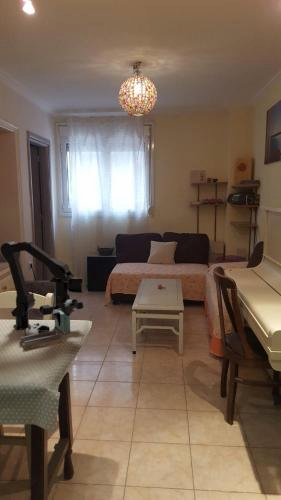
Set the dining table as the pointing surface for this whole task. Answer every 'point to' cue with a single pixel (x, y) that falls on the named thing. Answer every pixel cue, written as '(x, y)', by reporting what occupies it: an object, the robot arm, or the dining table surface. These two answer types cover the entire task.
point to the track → (40, 340)
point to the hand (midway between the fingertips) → (62, 325)
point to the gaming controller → (36, 329)
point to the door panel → (63, 322)
